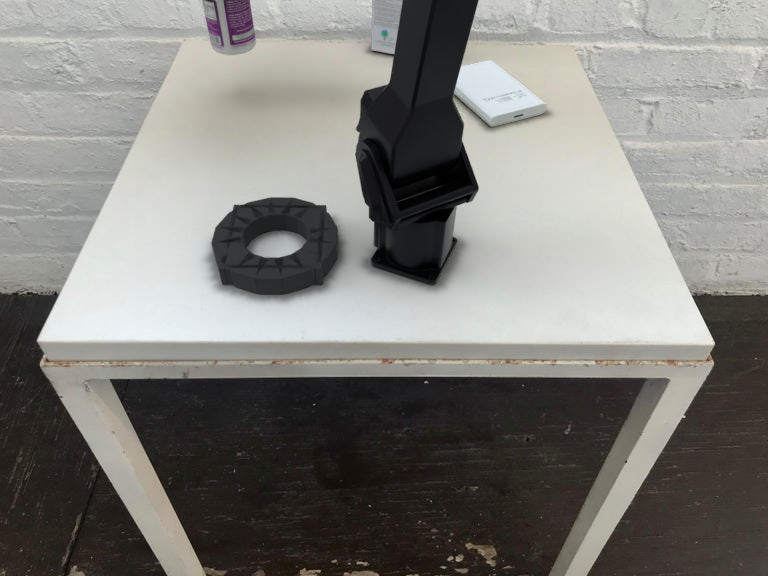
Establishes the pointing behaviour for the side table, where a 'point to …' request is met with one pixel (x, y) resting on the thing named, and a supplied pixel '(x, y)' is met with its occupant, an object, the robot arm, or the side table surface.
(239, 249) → the pad
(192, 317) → the side table surface
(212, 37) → the pill bottle
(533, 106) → the hard drive
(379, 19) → the ink cartridge box
